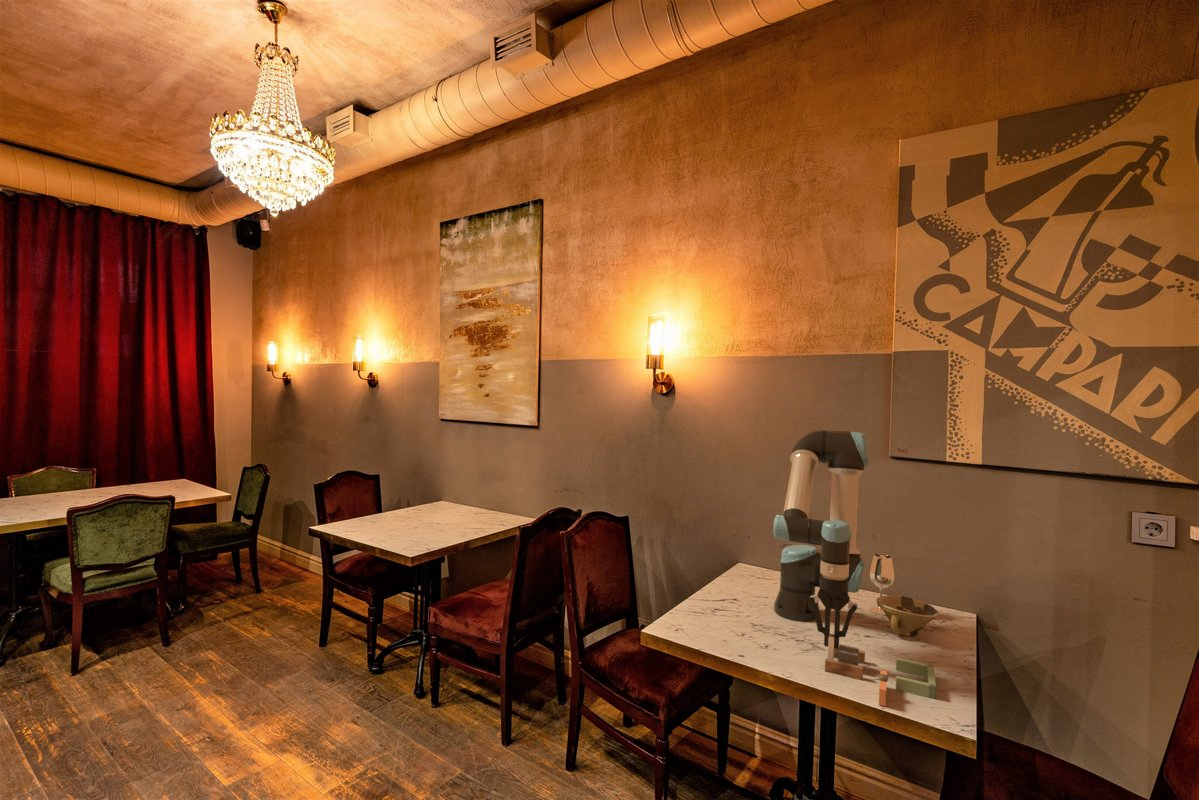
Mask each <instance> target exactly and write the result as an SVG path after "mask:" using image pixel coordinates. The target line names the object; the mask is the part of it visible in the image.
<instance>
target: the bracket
mask: <svg viewBox="0 0 1199 800" xmlns="http://www.w3.org/2000/svg"><path fill="white" fill-rule="evenodd" d="M934 669H935V668H934V665H932V664H927V663H924V662H919V661H915V660H914V661H913V660H910V659H904V658H900V657H896V660H895V671H898V672H902V673H906V674H912V675H915V676H919V677H924V678H926V681H925V682H924V681H921V680H917V679H913V678H912V679H911V678H908V677H903V676H898V675H896V677H895V678H896V679H895V691H896V690H897V691H901V692H905V693H909V694H912V695H917V696H922V697H925V698H929V699H933V700H937V685H936V683H937V682H936V676H935V675H936V674H935V670H934Z"/></svg>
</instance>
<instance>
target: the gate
mask: <svg viewBox="0 0 1199 800" xmlns="http://www.w3.org/2000/svg"><path fill="white" fill-rule="evenodd" d="M878 680H879V693H878V695H879V696H878V705H879V706H883V707H886V705H887V704H886V703H887V682H888V680H889V678H888V671H886V670H882V669H880V673H879V674H878Z"/></svg>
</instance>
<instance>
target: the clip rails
mask: <svg viewBox="0 0 1199 800" xmlns="http://www.w3.org/2000/svg"><path fill="white" fill-rule="evenodd" d="M838 651H839V647H838V649H836V648H835V652H834V660H831V659H828V657H827V658H825V659H824V661H825V662H824V672H826V673H831V674H836V675H839V676H843V677H846V678H847V677H848V678H852V679H856V680H860V681H863V679H864V677H863V676H864V666H861V665H858V666H857V665H853V664H848V663H844V662H840V661H838V660H836V659H838ZM835 658H836V659H835ZM865 660H866V651H864V650H859V659H858V664H862V665H865V663H866V662H865Z"/></svg>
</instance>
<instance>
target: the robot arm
mask: <svg viewBox="0 0 1199 800" xmlns="http://www.w3.org/2000/svg"><path fill="white" fill-rule="evenodd" d="M868 453H869V452H868V444H867V436H866V435H865V434H864V433H863V432H858V431H857V432H855V431H851V430H850V431H848V430H847V431H844V430H843V431H842V430H824V429H817V430H813V431H810V432H808V433H806V434H805V435H803V436H802V437H800V439H798V440H797V441H796V442H795V444H794V446H793V448H792V449H791V452H790V457H789V461H790V463H791V467H790V474H789V478H788V485H787V490H786V496H785V502H784V507H783V514H777V515H776V516H775V517H774V519H773V527H772V528H773V529H772V530H773V536H774V538H775V539H776V540H781V541H784V542H793V543H801V544H794V545H788V546H786V547H784V548H783V549H782V550H781V558H780V579H779V580H780V581H779V582H780V584H779V590H778V593H777V595H776V598H775V601H774V604H773V611H774V613H775V614H777V615H778V616H780V617H782V618H785V619H789V620H791V621H798V622H813V621H815V622H816V628H817V631H818V633H822V634H823V635H824V637H823V645H824V647H827V659H831V660H835V657H834V652H835V648H836V649H838V647H839V646H840V638H846V636H847V633H848V631H849V626H850V624H851V621H852V617H853V615H854V614H855V612H856V611H857V609H858V606H859V605H858V604H857V602H853V601H852V600H851V599H850V596H849V593H853V594H854V593H855V594H856V593H858V592H860V590H861V585H862V578H863V575H864V574H863V573H864V569H865V563H866V562H865V561H866V559H865V558H863V557H861V551H860V550H859V549H858V547H857V529H858V527H857V526H858V504H859V483H860V482H859V481H860V479H859V478H860V476H861V475H862V474H863V473H864V472H865V468H867V467H870V466H869V465H870V464H869V454H868ZM821 463H822V464H827V470H828V471H829V472H830V473H831V488H830V489H831V490H830V511H829V512H830V513H829V520H821V519H813V518H809V515H810V507H811V506H810V505H811V498H812V493H813V485H814V478H815V471H816V469H817V467H819V464H821ZM812 545H813V546H812ZM815 546H820V548H821V549H820V552H819V551H818V549H817V547H815ZM816 587H817V588H819V589H818V591H817V593H816ZM819 602H821V603H822V605H823V606H824V624H823V618H822V616H821V610H820V606H819ZM846 605H847V609H848V611H847V614H846V618H845V620H844V624H843V626H842V630H841V610H842V609H844V607H845V606H846ZM832 610H833V611H834V626H833V628H834V629H833V630H834V631H833V633H831V612H832Z"/></svg>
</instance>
